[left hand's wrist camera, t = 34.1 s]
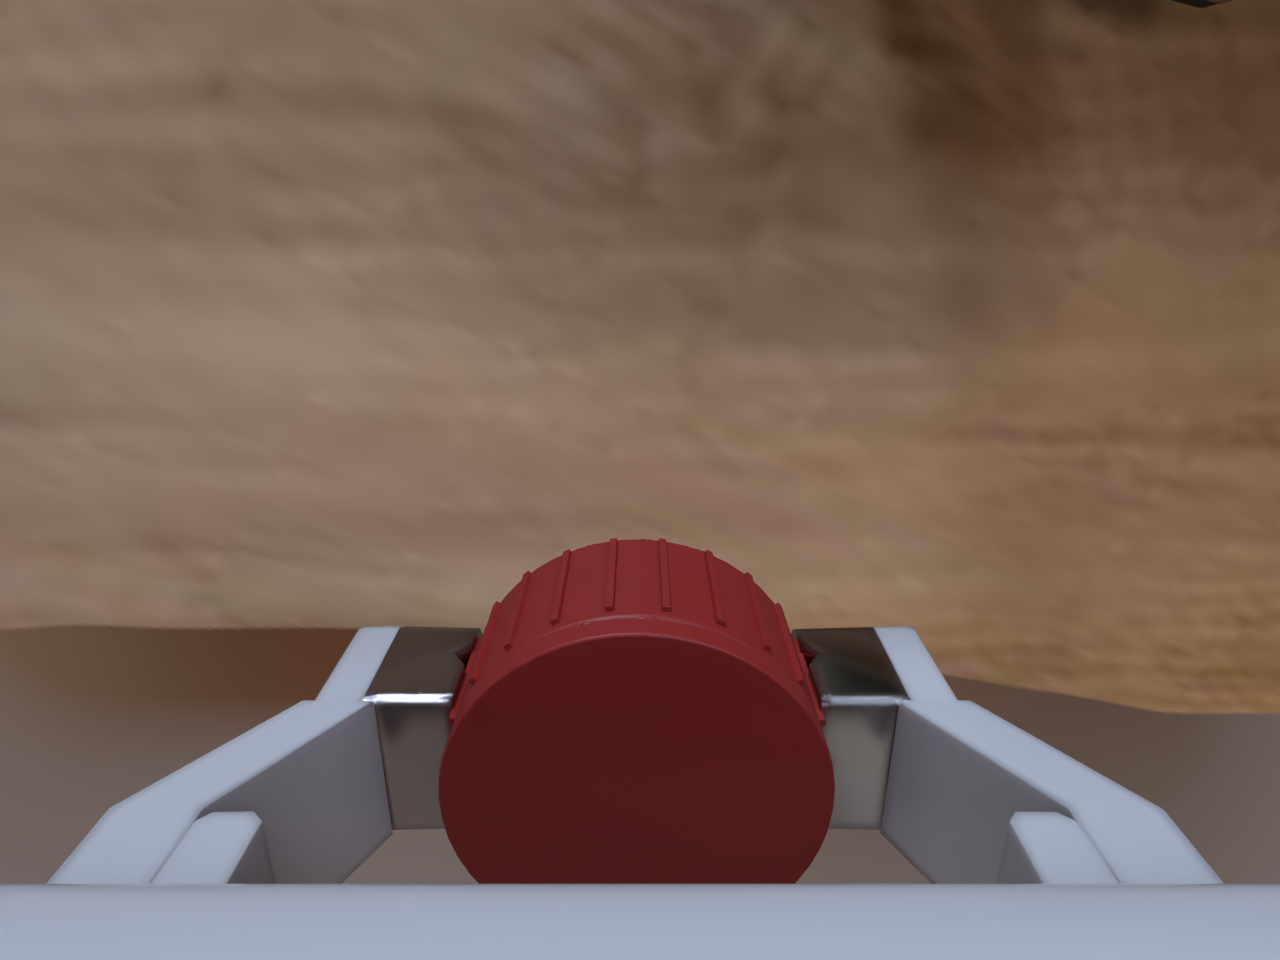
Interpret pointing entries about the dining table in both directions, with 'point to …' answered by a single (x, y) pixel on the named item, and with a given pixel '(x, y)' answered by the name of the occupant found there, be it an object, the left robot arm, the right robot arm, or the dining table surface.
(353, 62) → the dining table surface
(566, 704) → the cap
